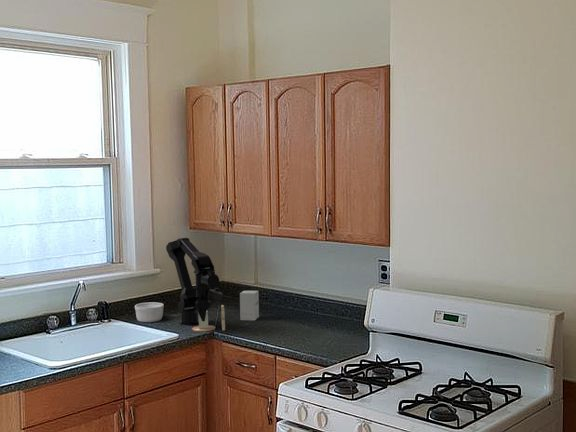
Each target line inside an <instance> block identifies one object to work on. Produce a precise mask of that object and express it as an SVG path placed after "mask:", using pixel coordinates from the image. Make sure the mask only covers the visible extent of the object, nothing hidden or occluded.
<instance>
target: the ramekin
mask: <svg viewBox="0 0 576 432" xmlns="http://www.w3.org/2000/svg"><path fill="white" fill-rule="evenodd" d="M164 307H165V306H164V303H162V302H154V301H153V302H150V301H149V302H140V303H136V304H135V305H134V309H135V316H136V320H137V321H139V322H140V323H154V322H158V321H161V320H162V318H163V313H164Z"/></svg>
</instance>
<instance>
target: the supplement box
mask: <svg viewBox="0 0 576 432" xmlns="http://www.w3.org/2000/svg"><path fill="white" fill-rule="evenodd" d="M259 296H260V295H259V290H243V291H241V292H239V310H240V311H239V312H240V313H239V315H240V316H239V317H240V318H239V319H240V321H256V320H257V319H258V318H260V308H259V307H260V303H259V300H260V299H259Z"/></svg>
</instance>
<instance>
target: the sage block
mask: <svg viewBox="0 0 576 432" xmlns="http://www.w3.org/2000/svg"><path fill="white" fill-rule="evenodd" d="M208 312H209V311H208V310H207V311H206V317H205V321H202V320H201V317H200V315H199V313H198V312H197V313H198V321H199V322H198V326H199V329H203V328H208V325H209V313H208Z"/></svg>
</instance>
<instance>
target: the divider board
mask: <svg viewBox="0 0 576 432" xmlns="http://www.w3.org/2000/svg"><path fill="white" fill-rule="evenodd" d="M220 312H221V329H222V331H226V321H225V320H226V319H225V318H226V315H225V306H224V304H221V305H220Z"/></svg>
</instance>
